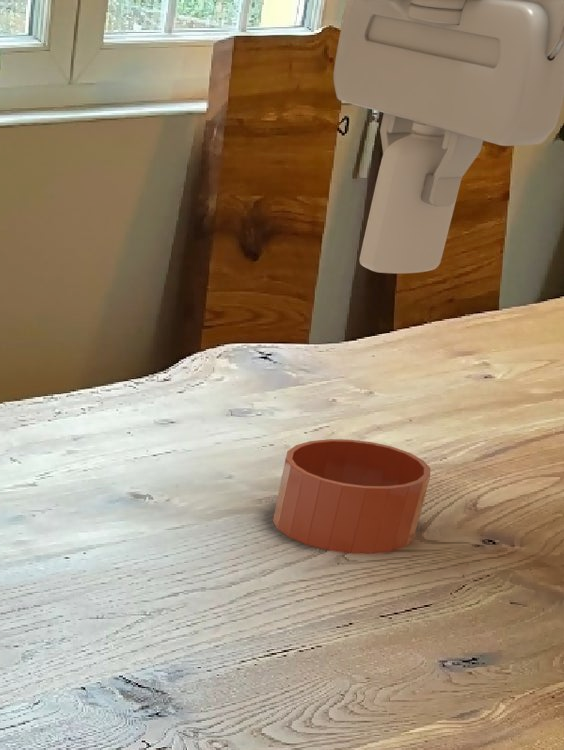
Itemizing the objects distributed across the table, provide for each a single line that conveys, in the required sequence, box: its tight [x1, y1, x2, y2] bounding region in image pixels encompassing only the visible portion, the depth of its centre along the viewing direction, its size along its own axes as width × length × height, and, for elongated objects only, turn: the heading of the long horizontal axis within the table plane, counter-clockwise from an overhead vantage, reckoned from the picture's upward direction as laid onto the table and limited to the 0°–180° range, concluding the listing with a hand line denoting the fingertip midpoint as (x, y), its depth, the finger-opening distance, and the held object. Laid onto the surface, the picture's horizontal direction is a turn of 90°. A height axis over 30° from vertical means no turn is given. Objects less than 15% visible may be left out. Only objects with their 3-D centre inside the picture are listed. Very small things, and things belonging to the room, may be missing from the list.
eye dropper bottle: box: [359, 121, 463, 274], centre depth 102 cm, size 4×6×12 cm
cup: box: [272, 438, 431, 555], centre depth 114 cm, size 11×11×6 cm
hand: (415, 197), depth 102 cm, fingers closed on eye dropper bottle, 3 cm apart
